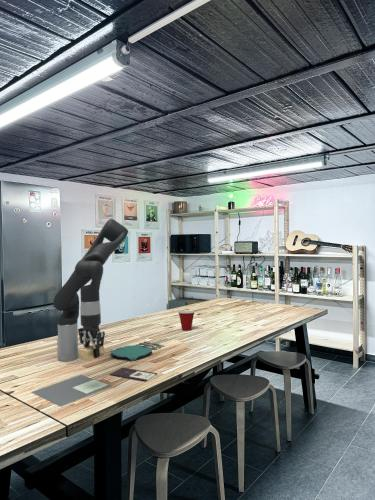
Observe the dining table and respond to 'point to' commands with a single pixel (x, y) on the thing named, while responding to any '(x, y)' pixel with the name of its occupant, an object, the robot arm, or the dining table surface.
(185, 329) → the plastic cup
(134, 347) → the table tennis paddle
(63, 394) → the rubber mat
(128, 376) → the chocolate bar
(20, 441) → the dining table surface
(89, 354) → the oak block
